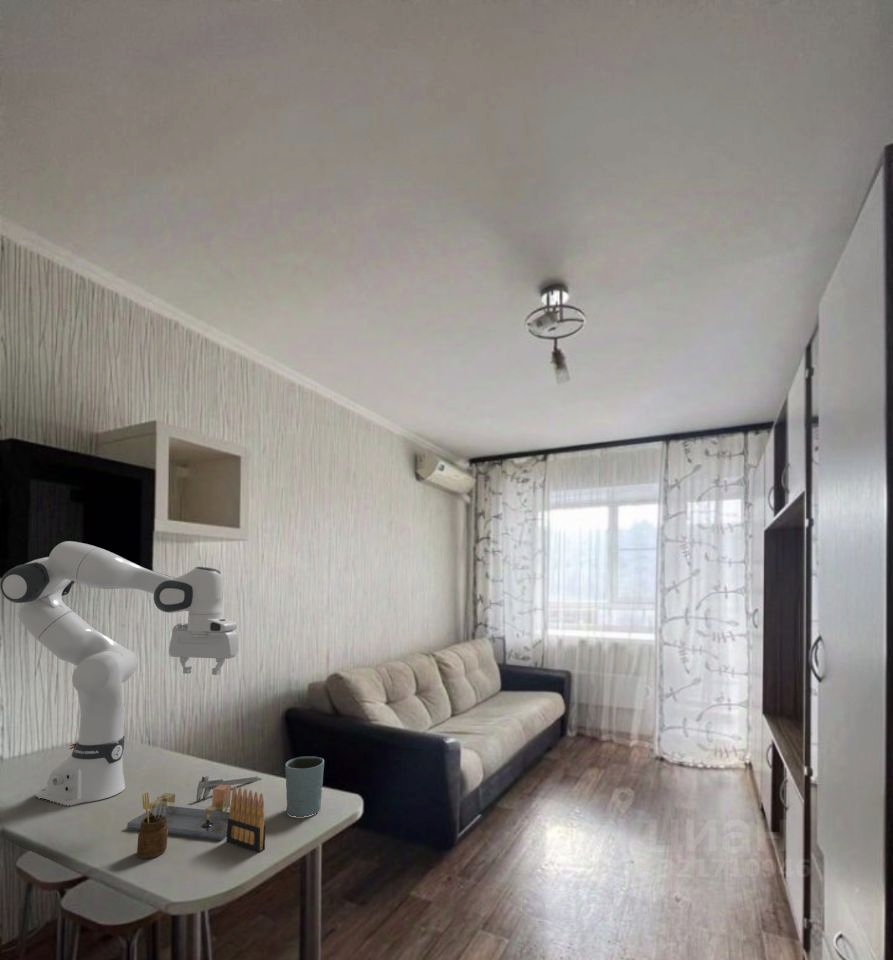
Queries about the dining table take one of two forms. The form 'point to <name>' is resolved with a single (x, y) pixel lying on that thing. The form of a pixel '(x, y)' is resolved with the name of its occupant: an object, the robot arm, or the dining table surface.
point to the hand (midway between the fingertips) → (201, 673)
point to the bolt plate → (186, 819)
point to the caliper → (216, 782)
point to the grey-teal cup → (304, 785)
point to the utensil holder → (152, 833)
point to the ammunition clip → (246, 821)
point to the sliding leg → (219, 800)
